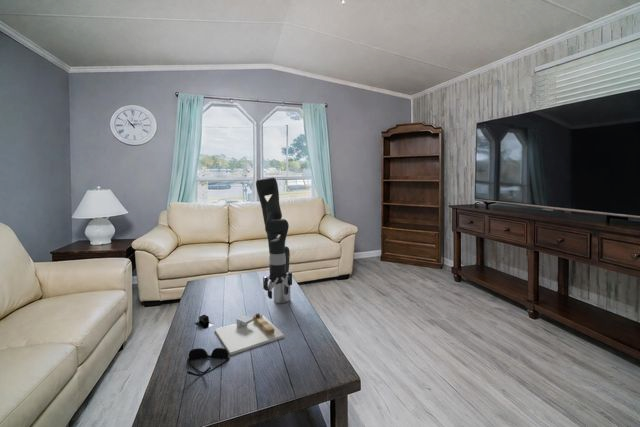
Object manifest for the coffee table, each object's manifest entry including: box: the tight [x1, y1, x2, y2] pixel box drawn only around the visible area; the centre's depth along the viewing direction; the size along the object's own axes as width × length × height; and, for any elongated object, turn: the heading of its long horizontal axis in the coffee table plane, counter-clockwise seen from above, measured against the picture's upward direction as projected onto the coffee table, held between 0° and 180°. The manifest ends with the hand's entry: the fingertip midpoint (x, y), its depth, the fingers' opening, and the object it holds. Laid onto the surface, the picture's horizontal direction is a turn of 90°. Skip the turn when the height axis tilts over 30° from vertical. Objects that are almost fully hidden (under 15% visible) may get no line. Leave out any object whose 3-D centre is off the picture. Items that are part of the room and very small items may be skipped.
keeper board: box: [214, 314, 285, 356], centre depth 140 cm, size 25×24×6 cm
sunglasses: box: [186, 347, 231, 377], centre depth 115 cm, size 17×14×5 cm
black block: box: [193, 314, 215, 330], centre depth 150 cm, size 12×7×5 cm, turn 54°
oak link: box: [252, 312, 274, 335], centre depth 145 cm, size 18×4×3 cm, turn 34°
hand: (278, 296), depth 140 cm, fingers open, 7 cm apart
